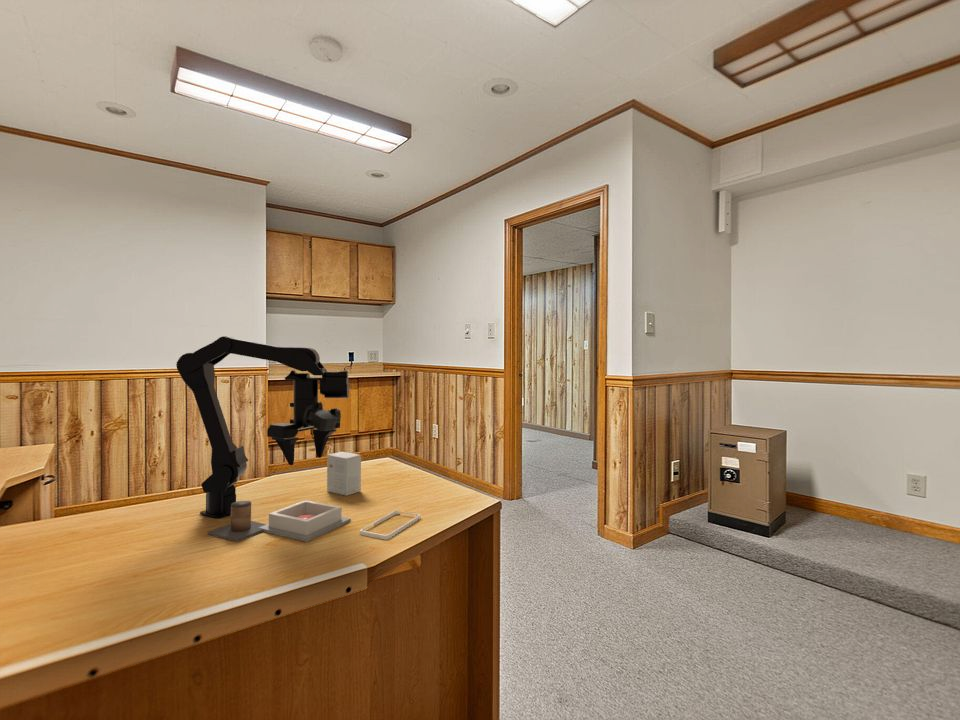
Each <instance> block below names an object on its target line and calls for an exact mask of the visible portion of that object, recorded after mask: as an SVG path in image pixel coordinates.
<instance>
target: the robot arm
mask: <svg viewBox="0 0 960 720" xmlns="http://www.w3.org/2000/svg"><path fill="white" fill-rule="evenodd" d="M230 354H232V355H238V356H243V357H248V358H254V359H261V360H265V361H271V362H276V363H278V364H281V365H284V366H285V367H289V368H291V369H292V370H291V371H290V372H289V373H288V375H287V376H285V377H284V380H285V381H293V401H291V402H289V407H290V408H293V418H290V419H289V423H287V422H280V423H279V422H278V423H273V424H270V425H268V427H267V430H266V431H267V435H266V436H267V437H268V438H271V440H274V441H275V442H276V443H277V445H278V447H279V448H280V450H281V452H282V454H283V456H284V457H285V460H286V461H287V464H288V465H289V466H293V465H294V462H295V444H296V443H297V441H298V439H299V437H296V436H297V435H298V434H299V433H300V432H304V431H309V430H312V435H313V442H314V449H315V454H316V458H319V459H321V458H322V457H323V453H324V451H325V448H326V446H327V442H328V440H329V438H330V436H331V435H333V433H336V432H337V429H340V428H341V417H342V414H341V409H339V408H338V407H337V408H330V410H329V409H324V408H323V405H324V404H323V403H322V402H321V401H319V395H321V396H322V395H323V396H324V398H325V399H349V398H350V382H349V380H350V379H349V371H348V370H342V371H341V370H340V371H328V370H327V369H326V367H325V366H324V365H323V364H322V362H321V361H320V358H321V357H320V354H319V353H318V352H317V350H316V349H314V348H311V347H289V346H288V347H284V346H277V345H272V344H266V343H259V342H255V341H250V340H244V339H239V338H235V337H234V336H233V337H232V336H220V337H218V338H217V339H216V340H214V341H212V342H211V343H209V344H207V345H205V346H203V347H201V348H199V349H197V350H195V351H193V352H187V353H184V354H182V355H181V356H180V357H178V360H177V361H176V363H175V364H176V370H177V372H178V374H179V375H180V377H181V379H182V381H183V382H184V384H185V385H186V386H187V387H188V389H189V390H191V392H192V393H193V396H194V399H195V402H196V405H197V408H198V411H199V413H200V417H201V420H202V423H203V426H204V430H205V433H206V436H207V438H208V441H209V444H210V447H211V457H210V465H211V473H212V474H210V476H208V477H206V479H205V480H204V481H202V482H201V484H200V485H201V488H202V491H203V493H205V510H202V511H199V515H203V516H205V517H210V518H211V517H212V518H214V519H218V518H222V517H227V516H228V515H231V504H232V503H234V502H237V493H236V486H235V484H236V483H237V482H238V480H239V478H240V477H241V476H242V475H243V474H244V473H245V472H246V470H247V468H248V465H247V462H248V461H249V459H248V457H247V456H246V453H245V447H244V445H241V446H239V447H237V445H236V444H235V443H234V442H233V440H232V438H231V437H232V436H231V435H230V431H229V429H228V425H227V422H226V419H225V417H224V416H225V415H224V413H223V410H222V408H221V405H220V401H219V397H218V395H217V392H216V388H215V378H216V373H215V366H216V365H217V364H219V363H220V362H222V361H223V360H224V359H225V358H226V357H228V356H229V355H230ZM293 369H294V370H293ZM297 371H300V372H297ZM301 372H302V373H301ZM303 372H308V373H303ZM310 374H311V375H313V376H315V377H313V376H312V377H311V376H310ZM317 376H320V377H317Z"/></svg>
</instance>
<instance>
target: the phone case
mask: <svg viewBox="0 0 960 720" xmlns="http://www.w3.org/2000/svg"><path fill="white" fill-rule="evenodd" d="M401 513H402V514H408V515H412V516H413V515H414V516H415V517H414V518H412V519H411V520H409V521H407V522H406V523H404V524H402V525H401V526H399V527H398V528H396V529H394V530H393V531H391V532H389V533H387V534H381V533H377V532H371V531H366V530H367V529H369V528H370V527H372V526H377V525H379V524H381V523H382V522H384V521H386V520H388V519H389V517H390V518H391V517H393V516H396V515H398V514H400V515H401ZM395 514H396V515H395ZM418 519H419V520H420V519H421V514H419V513H413V512H408V511H402V510H393V511H392V512H390V513H388V514H386V515H384V516H382V517H380V518H379V519H377V520H375V521H373V522H372V523H370V524H368V525H366V526H364V527H362V528H361V529H360V530H359V535H362V536H365V537H371V538H375V539H382V540H385V539H386V540H390V539H391V538H392V536H393V537H394V536H395V534H396V535H397V534H399V533H400V532H402V531H403V529H404V530H405V529H406V527H407V528H409V527H410V526H412V525H413V524H414V522H415V521H416V522H418V521H419V520H418ZM417 520H418V521H417ZM416 522H415V523H416ZM412 523H413V524H412ZM409 525H410V526H409ZM398 532H399V533H398Z"/></svg>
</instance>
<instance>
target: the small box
mask: <svg viewBox="0 0 960 720" xmlns="http://www.w3.org/2000/svg"><path fill="white" fill-rule="evenodd" d="M326 461H327V462H326V463H327V464H326V468H327V469H326V474H327V475H326V491H327V492H328V493H333V494H337V495H341V496H350V495H353V494H355V493H359V492H361V491H362V455H361V454H357V453H352V452H346V451H339V452H334V453H329V454H327V458H326Z"/></svg>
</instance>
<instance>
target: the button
mask: <svg viewBox="0 0 960 720" xmlns="http://www.w3.org/2000/svg"><path fill="white" fill-rule="evenodd" d="M314 516H315V515H302V516H298V517H297V518H302V519H306V520H307V519H309V518H312V517H314Z"/></svg>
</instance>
